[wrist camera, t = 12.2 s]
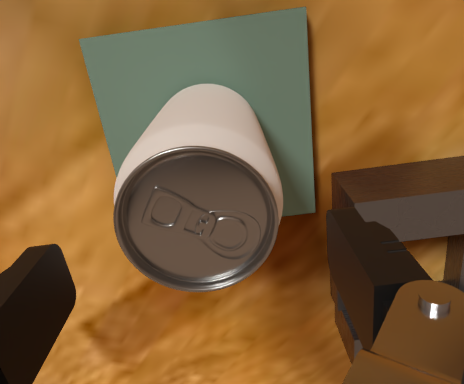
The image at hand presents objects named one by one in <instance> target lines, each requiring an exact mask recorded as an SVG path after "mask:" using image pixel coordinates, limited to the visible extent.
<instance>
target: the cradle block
mask: <svg viewBox="0 0 464 384" xmlns="http://www.w3.org/2000/svg"><path fill="white" fill-rule="evenodd" d="M348 207H355V209H356V210H357V211H358V213H359V214H360V215H361V217H362V218H363V219H364V221H365V222H372V221H376V222H378V223H380V224H381V225H383V226H385V227H387V228H389V229H390V230H391V231H392V232H393V233H394V234H395V236H396V237H397V238H398V239H399V242H402V241H410V240H419V239H427V238H435V237H443V236H449V237H448V245H447V254H446V262H445V271H444V279H443V281H438V282H442V283H445V284H448V285H451V286H453V287H455V288H457V289H459V290H460V291H462V292H463V293H464V156H459V157H452V158H444V159H436V160H428V161H421V162H413V163H405V164H397V165H390V166H382V167H374V168H367V169H359V170H351V171H343V172H336V173H332V209H340V208H348ZM330 283H331V296H332V298H333V301H334V303H335V323H336V325H337V328H338V331H339V333H340V336H341V338H342V341H343V343H344V346H345V349H346V351H347V354H348V356H349V359H350V362H351V364H352V363H353V361H354V359H355V357H356V355H357V354H358V352H359V351H360V350H361V349H362V348H363V347H362V344H361V342H360V340H359V338H358V335H357V333H356V331H355V328H354V326H353V324H352V322H351V319H350V317H349V315H348V312H347V310H346V308H345V306H344V303H343V301H342V299H341V296H340V294H339V292H338V290H337V287H336V285H335V283H334V280H333V278H332V276H331V272H330Z"/></svg>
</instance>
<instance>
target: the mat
mask: <svg viewBox="0 0 464 384" xmlns="http://www.w3.org/2000/svg"><path fill="white" fill-rule="evenodd" d="M79 42H80V45H81V49H82V53H83V56H84V60H85V64H86V67H87V71H88V75H89V78H90V82H91V86H92V89H93V93H94V97H95V100H96V104H97V108H98V111H99V115H100V119H101V122H102V126H103V130H104V133H105V137H106V141H107V144H108V148H109V151H110V155H111V159H112V162H113V166H114V170H115V173H116V177H117V176H118V173H119V170H120V168H121V166H122V164H123V162H124V160H125V158H126V157H127V155H128V154H129V152H130V150H131V149H132V148H133V146H134V145H135V143H136V142H137V141H138V139H139V138H140V137H141V135H142V134H143V133H144V131H145V130H146V129H147V127H148V126H149V125H150V123H151V122H152V121H153V119H154V118H155V117H156V116H157V114H158V113H159V112H160V110H161V109H162V108H163V107H164V105H165V104H166V103H167V102H168V101H169V100H170V99H171V98H172V97H173V96H174V95H175V94H177V93H178V92H180V91H181V90H183V89H185V88H187V87H190V86H193V85H197V84H217V85H221V86H224V87H227V88H229V89H231V90H233V91H235V92H237V93H238V94H239V95H241V96H242V97H243V98H244V99H245V100H246V101H247V102H248V103H249V105H250V106H251V108H252V109H253V111H254V113H255V115H256V117H257V119H258V121H259V124H260V126H261V129H262V131H263V134H264V136H265V139H266V141H267V144H268V147H269V149H270V152H271V154H272V157H273V160H274V162H275V165H276V168H277V171H278V174H279V177H280V181H281V185H282V192H283V211H282V216H281V217H283V216H291V215H299V214H307V213H315V192H314V170H313V148H312V126H311V104H310V82H309V60H308V38H307V16H306V7H300V8H293V9H286V10H279V11H272V12H265V13H258V14H251V15H244V16H237V17H230V18H223V19H216V20H209V21H203V22H196V23H189V24H182V25H175V26H168V27H161V28H154V29H147V30H140V31H133V32H126V33H119V34H112V35H105V36H98V37H91V38H84V39H79Z"/></svg>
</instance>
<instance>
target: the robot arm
mask: <svg viewBox="0 0 464 384" xmlns="http://www.w3.org/2000/svg"><path fill="white" fill-rule="evenodd" d="M326 221H327V251H328V263H329V268H330V272H331V276H332V278H333V280H334V283H335V285H336V287H337V290H338V292H339V294H340V296H341V299H342V301H343V303H344V306H345V308H346V310H347V312H348V315H349V317H350V319H351V322H352V324H353V326H354V328H355V331H356V333H357V335H358V338H359V340H360V342H361V344H362V347H363V348H362V349H361V350H360V351H359V352H358V354H357V355H356V357H355V359H354V361H353V363H352V365H351V367H350V369H349V371H348V373H347V375H346V377H345V379H344V382H343V384H464V293H463V292H462V291H460V290H459V289H457V288H455V287H453V286H451V285H448V284H445V283H442V282H438V281H433V280H432V279H431V278H430V276H429V275H428V274H427V273H426V272H425V270H424V269H423V268H422V267H421V266H420V264H419V263H418V262H417V261H416V260H415V258H414V257H413V256H412V255H411V254H410V252H409V251H407V250H406V248H405V246H404V245H403V244H402V243H401V242H399V239H398V238H397V237H396V236H395V234H394V233H393V232H392V231H391V230H390V229H389V228H387V227H385V226H383V225H381V224H380V223H378V222H376V221H372V222H365V221H364V219H363V218H362V217H361V215H360V214H359V213H358V211H357V210H356V209H355V207H348V208H340V209H332V210H328V211H327V216H326ZM75 301H76V289H75V285H74V283H73V280H72V277H71V274H70V272H69V269H68V266H67V264H66V261H65V258H64V255H63V253H62V250H61V248H60V247H59V246H58V245H56V244H49V245H42V246H34V247H29V248H27V249H26V250H25V251H24V252H23V253H22V254H21V256H20V257H19V258H18V259H17V260H16V261H15V262H14V263H13V264H12V266H11V267H9V268H8V269H6V270H5V271H3V272H2V273H1V274H0V384H32V383H33V382H34V380H35V378H36V376H37V374H38V372H39V371H40V369H41V367H42V365H43V363H44V361H45V359H46V358H47V356H48V354H49V352H50V350H51V348H52V346H53V345H54V343H55V341H56V339H57V337H58V335H59V333H60V332H61V330H62V328H63V326H64V324H65V322H66V321H67V319H68V317H69V315H70V313H71V311H72V309H73V307H74V305H75Z"/></svg>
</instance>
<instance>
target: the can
mask: <svg viewBox="0 0 464 384" xmlns="http://www.w3.org/2000/svg"><path fill="white" fill-rule="evenodd" d="M282 211H283V192H282V185H281V181H280V177H279V174H278V171H277V168H276V165H275V162H274V160H273V157H272V154H271V152H270V149H269V147H268V144H267V141H266V139H265V136H264V134H263V131H262V129H261V126H260V124H259V121H258V119H257V117H256V115H255V113H254V111H253V109H252V108H251V106H250V105H249V103H248V102H247V101H246V100H245V99H244V98H243V97H242V96H241V95H239V94H238V93H237V92H235V91H233V90H231V89H229V88H227V87H224V86H221V85H217V84H197V85H193V86H190V87H187V88H185V89H183V90H181V91H180V92H178V93H177V94H175V95H174V96H173V97H172V98H171V99H170V100H169V101H168V102H167V103H166V104H165V105H164V107H163V108H162V109H161V110H160V112H159V113H158V114H157V116H156V117H155V118H154V119H153V121H152V122H151V123H150V125H149V126H148V127H147V129H146V130H145V131H144V133H143V134H142V135H141V137H140V138H139V139H138V141H137V142H136V143H135V145H134V146H133V148H132V149H131V150H130V152H129V154H128V155H127V157H126V158H125V160H124V162H123V164H122V166H121V168H120V170H119V173H118V176H117V179H116V183H115V189H114V229H115V233H116V237H117V240H118V242H119V245H120V247H121V249H122V251H123V252H124V254H125V255H126V257H127V258H128V260H129V261H130V262H131V263H132V264H133V265H134V266H135V267H136V268H137V269H138V270H139V271H140V272H141V273H143V274H144V275H145V276H147V277H148V278H150V279H151V280H153V281H155V282H157V283H159V284H161V285H164V286H166V287H169V288H173V289H176V290H181V291H188V292H208V291H215V290H220V289H223V288H227V287H230V286H232V285H234V284H237V283H239V282H241V281H242V280H244V279H246V278H247V277H249V276H250V275H251V274H253V273H254V272H255V271H256V270H257V269H258V268H259V267H260V266H261V265H262V264H263V263H264V261H265V260H266V259H267V257H268V256H269V254H270V252H271V250H272V248H273V246H274V244H275V241H276V237H277V233H278V226H279V223H280V220H281V216H282Z"/></svg>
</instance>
